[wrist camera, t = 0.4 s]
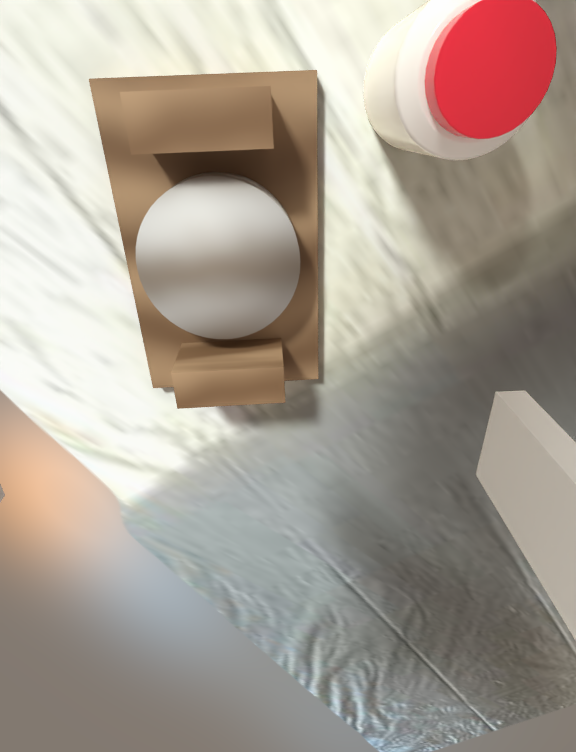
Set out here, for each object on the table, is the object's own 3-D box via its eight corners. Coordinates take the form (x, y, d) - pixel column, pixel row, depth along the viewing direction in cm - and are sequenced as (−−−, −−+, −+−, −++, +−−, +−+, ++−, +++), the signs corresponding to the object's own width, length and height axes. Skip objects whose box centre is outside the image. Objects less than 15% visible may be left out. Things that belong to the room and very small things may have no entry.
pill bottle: (458, -18, 28) (561, -90, 18) (494, 111, 31) (598, 109, 22) (343, 58, 29) (382, 28, 20) (390, 173, 33) (443, 195, 23)
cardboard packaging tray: (95, 80, 29) (56, 71, 24) (315, 71, 30) (326, 61, 24) (156, 380, 40) (139, 422, 34) (316, 372, 40) (325, 411, 35)
